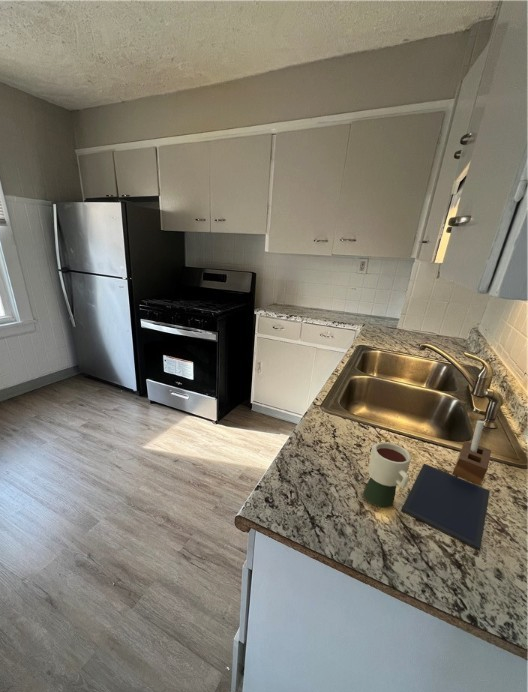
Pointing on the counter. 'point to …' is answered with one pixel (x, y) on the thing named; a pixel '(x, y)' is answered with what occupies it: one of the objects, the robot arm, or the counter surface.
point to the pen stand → (472, 463)
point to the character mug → (386, 473)
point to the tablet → (449, 505)
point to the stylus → (477, 436)
